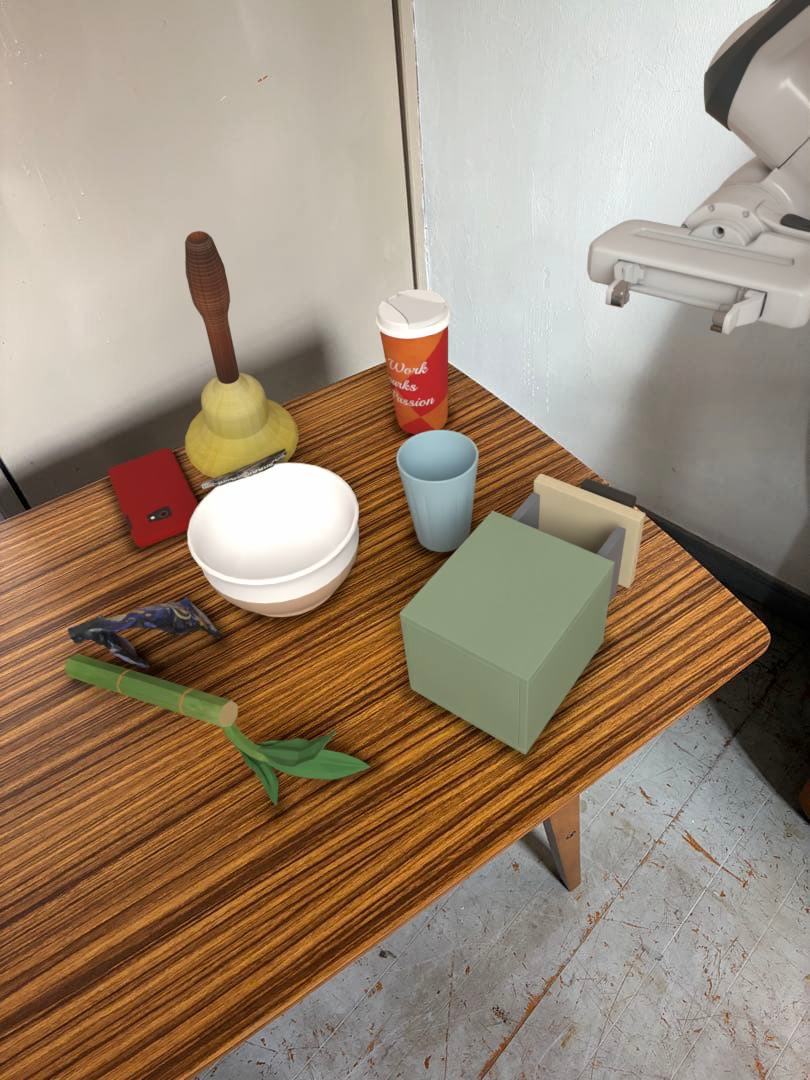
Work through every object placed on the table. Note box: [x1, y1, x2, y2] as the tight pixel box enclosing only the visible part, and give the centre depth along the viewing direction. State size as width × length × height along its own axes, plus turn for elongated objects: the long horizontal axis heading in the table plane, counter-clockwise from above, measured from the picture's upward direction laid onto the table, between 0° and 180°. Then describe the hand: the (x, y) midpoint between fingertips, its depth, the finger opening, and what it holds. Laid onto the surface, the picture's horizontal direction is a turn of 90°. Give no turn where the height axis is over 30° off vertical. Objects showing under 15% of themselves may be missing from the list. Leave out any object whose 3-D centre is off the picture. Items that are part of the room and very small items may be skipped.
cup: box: [395, 429, 480, 553], centre depth 78 cm, size 8×8×10 cm
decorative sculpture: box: [199, 449, 287, 490], centre depth 83 cm, size 20×1×10 cm
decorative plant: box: [63, 653, 371, 807], centre depth 66 cm, size 6×8×30 cm
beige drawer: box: [509, 473, 646, 604], centre depth 71 cm, size 17×10×9 cm, turn 143°
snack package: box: [67, 596, 223, 671], centre depth 71 cm, size 12×6×12 cm
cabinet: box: [399, 510, 615, 755], centre depth 66 cm, size 13×11×10 cm
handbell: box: [184, 230, 300, 479], centre depth 76 cm, size 12×12×25 cm
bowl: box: [186, 462, 360, 618], centre depth 76 cm, size 16×16×8 cm
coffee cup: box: [374, 289, 452, 435], centre depth 90 cm, size 8×8×15 cm
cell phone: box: [107, 447, 200, 548], centre depth 89 cm, size 8×15×1 cm, turn 27°
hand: (664, 311), depth 67 cm, fingers open, 8 cm apart
